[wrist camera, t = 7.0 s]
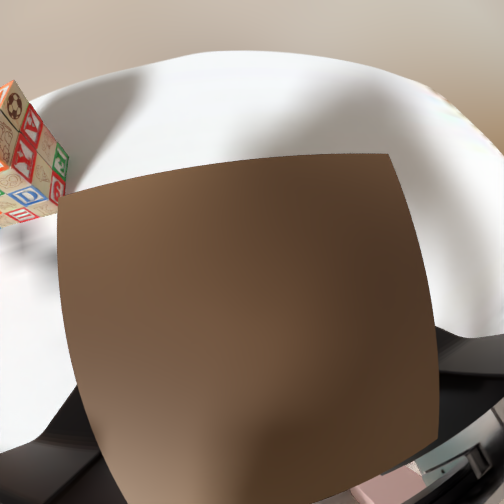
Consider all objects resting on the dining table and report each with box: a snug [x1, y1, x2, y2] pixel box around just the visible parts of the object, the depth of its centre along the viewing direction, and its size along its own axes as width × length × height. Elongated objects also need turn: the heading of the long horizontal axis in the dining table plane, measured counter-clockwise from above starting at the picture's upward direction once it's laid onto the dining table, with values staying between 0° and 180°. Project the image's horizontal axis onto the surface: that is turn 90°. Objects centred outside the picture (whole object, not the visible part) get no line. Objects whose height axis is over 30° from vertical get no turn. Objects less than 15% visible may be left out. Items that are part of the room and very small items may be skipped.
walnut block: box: [57, 154, 439, 504], centre depth 9 cm, size 4×4×12 cm
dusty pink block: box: [350, 465, 426, 504], centre depth 13 cm, size 4×4×12 cm
